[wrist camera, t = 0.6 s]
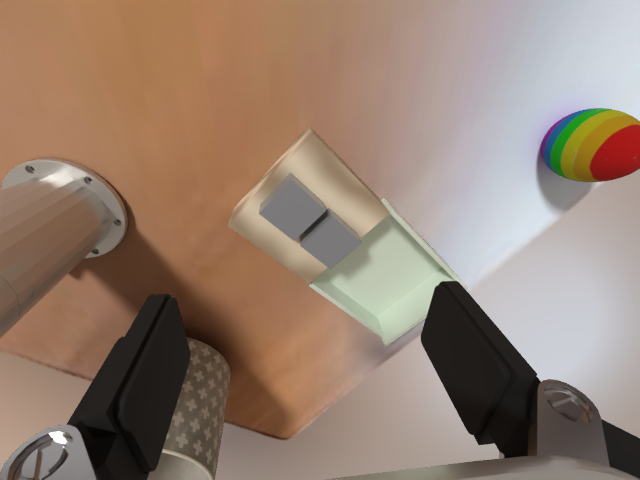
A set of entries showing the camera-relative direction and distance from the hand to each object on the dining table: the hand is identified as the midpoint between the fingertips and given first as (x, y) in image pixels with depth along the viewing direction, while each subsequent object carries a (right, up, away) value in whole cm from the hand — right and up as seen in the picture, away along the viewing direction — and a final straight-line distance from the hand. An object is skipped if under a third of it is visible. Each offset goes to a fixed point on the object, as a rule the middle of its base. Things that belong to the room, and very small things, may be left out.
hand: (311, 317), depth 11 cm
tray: (+9, -1, +34) cm, 36 cm away
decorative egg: (+32, +16, +28) cm, 45 cm away
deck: (-1, +8, +28) cm, 29 cm away
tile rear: (+1, +4, +25) cm, 25 cm away
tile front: (-3, +7, +22) cm, 24 cm away
